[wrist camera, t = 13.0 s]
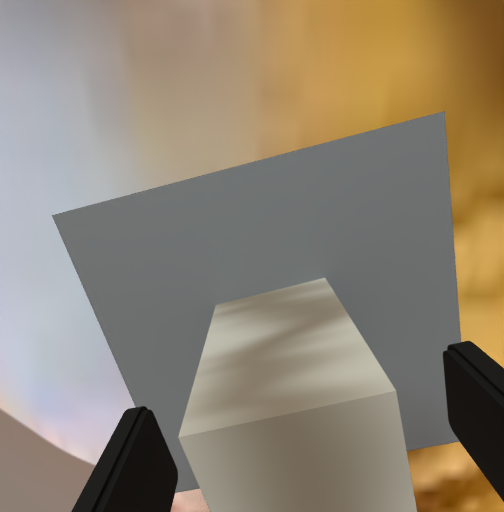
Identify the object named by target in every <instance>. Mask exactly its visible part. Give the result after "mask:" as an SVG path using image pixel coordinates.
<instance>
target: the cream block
mask: <svg viewBox="0 0 504 512" xmlns="http://www.w3.org/2000/svg"><path fill="white" fill-rule="evenodd" d="M178 438H179V441H180V443H181V445H182V447H183V450H184V452H185V454H186V457H187V459H188V461H189V464H190V466H191V468H192V471H193V473H194V475H195V478H196V480H197V482H198V485H199V487H200V489H201V491H202V494H203V496H204V498H205V501H206V503H207V505H208V508H209V510H210V512H417V509H416V503H415V497H414V491H413V486H412V480H411V474H410V468H409V462H408V457H407V451H406V445H405V439H404V433H403V428H402V422H401V416H400V410H399V404H398V399H397V393H396V390H395V388H394V386H393V385H392V383H391V382H390V380H389V379H388V377H387V375H386V374H385V372H384V371H383V369H382V367H381V366H380V364H379V363H378V361H377V359H376V358H375V356H374V355H373V353H372V351H371V350H370V348H369V347H368V345H367V343H366V342H365V340H364V339H363V337H362V336H361V334H360V332H359V331H358V329H357V328H356V326H355V324H354V323H353V321H352V320H351V318H350V316H349V315H348V313H347V312H346V310H345V308H344V307H343V305H342V304H341V302H340V301H339V299H338V297H337V296H336V294H335V293H334V291H333V289H332V288H331V286H330V285H329V283H328V281H327V280H326V278H322V279H318V280H314V281H310V282H306V283H302V284H298V285H294V286H290V287H286V288H282V289H278V290H274V291H270V292H266V293H262V294H258V295H254V296H250V297H246V298H242V299H238V300H234V301H230V302H226V303H222V304H218V305H216V306H215V310H214V313H213V317H212V320H211V324H210V327H209V331H208V334H207V338H206V341H205V345H204V348H203V352H202V355H201V359H200V362H199V366H198V369H197V373H196V376H195V380H194V384H193V387H192V391H191V394H190V398H189V401H188V405H187V408H186V412H185V415H184V419H183V422H182V426H181V429H180V433H179V436H178Z"/></svg>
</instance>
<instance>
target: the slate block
mask: <svg viewBox="0 0 504 512" xmlns="http://www.w3.org/2000/svg"><path fill="white" fill-rule="evenodd" d="M52 217H53V219H54V221H55V224H56V226H57V228H58V230H59V233H60V235H61V237H62V240H63V242H64V244H65V246H66V249H67V251H68V253H69V256H70V258H71V260H72V262H73V265H74V267H75V269H76V272H77V274H78V276H79V278H80V281H81V283H82V285H83V288H84V290H85V292H86V294H87V297H88V299H89V301H90V304H91V306H92V308H93V310H94V313H95V315H96V317H97V320H98V322H99V324H100V326H101V329H102V331H103V333H104V336H105V338H106V340H107V342H108V345H109V347H110V349H111V352H112V354H113V356H114V358H115V361H116V363H117V365H118V368H119V370H120V372H121V374H122V377H123V379H124V381H125V384H126V386H127V388H128V390H129V393H130V395H131V397H132V400H133V402H134V404H135V406H136V407H141V406H145V407H147V409H148V410H152V411H153V413H154V416H155V418H156V420H157V423H158V425H159V427H160V430H161V432H162V434H163V437H164V439H165V441H166V444H167V446H168V448H169V451H170V453H171V455H172V458H173V460H174V462H175V465H176V467H177V470H178V482H177V486H176V490H175V493H177V492H183V491H188V490H194V489H199V488H200V487H199V485H198V482H197V480H196V478H195V475H194V473H193V471H192V468H191V466H190V464H189V461H188V459H187V457H186V454H185V452H184V450H183V447H182V445H181V443H180V441H179V438H178V436H179V433H180V429H181V426H182V422H183V419H184V415H185V412H186V408H187V405H188V401H189V398H190V394H191V391H192V387H193V384H194V380H195V376H196V373H197V369H198V366H199V362H200V359H201V355H202V352H203V348H204V345H205V341H206V338H207V334H208V331H209V327H210V324H211V320H212V317H213V313H214V310H215V306H216V305H218V304H222V303H226V302H230V301H234V300H238V299H242V298H246V297H250V296H254V295H258V294H262V293H266V292H270V291H274V290H278V289H282V288H286V287H290V286H294V285H298V284H302V283H306V282H310V281H314V280H318V279H322V278H326V280H327V281H328V283H329V285H330V286H331V288H332V289H333V291H334V293H335V294H336V296H337V297H338V299H339V301H340V302H341V304H342V305H343V307H344V308H345V310H346V312H347V313H348V315H349V316H350V318H351V320H352V321H353V323H354V324H355V326H356V328H357V329H358V331H359V332H360V334H361V336H362V337H363V339H364V340H365V342H366V343H367V345H368V347H369V348H370V350H371V351H372V353H373V355H374V356H375V358H376V359H377V361H378V363H379V364H380V366H381V367H382V369H383V371H384V372H385V374H386V375H387V377H388V379H389V380H390V382H391V383H392V385H393V386H394V388H395V390H396V393H397V399H398V404H399V410H400V416H401V422H402V428H403V433H404V439H405V445H406V451H409V450H415V449H421V448H426V447H432V446H437V445H443V444H448V443H454V442H459V440H458V438H457V437H456V435H455V434H454V432H453V431H452V429H451V427H450V424H449V421H448V411H447V399H446V388H445V376H444V364H443V351H446V350H447V347H448V345H450V344H455V343H460V342H461V335H460V321H459V307H458V293H457V279H456V265H455V251H454V237H453V223H452V209H451V195H450V181H449V167H448V153H447V139H446V125H445V111H444V112H440V113H436V114H432V115H428V116H425V117H421V118H417V119H413V120H410V121H406V122H402V123H398V124H395V125H391V126H387V127H383V128H380V129H376V130H372V131H368V132H364V133H361V134H357V135H353V136H349V137H346V138H342V139H338V140H334V141H331V142H327V143H323V144H319V145H315V146H312V147H308V148H304V149H300V150H297V151H293V152H289V153H285V154H282V155H278V156H274V157H270V158H267V159H263V160H259V161H255V162H251V163H248V164H244V165H240V166H236V167H233V168H229V169H225V170H221V171H218V172H214V173H210V174H206V175H202V176H199V177H195V178H191V179H187V180H184V181H180V182H176V183H172V184H169V185H165V186H161V187H157V188H153V189H150V190H146V191H142V192H138V193H135V194H131V195H127V196H123V197H120V198H116V199H112V200H108V201H105V202H101V203H97V204H93V205H89V206H86V207H82V208H78V209H74V210H71V211H67V212H63V213H59V214H56V215H52Z"/></svg>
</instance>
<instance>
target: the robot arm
mask: <svg viewBox="0 0 504 512" xmlns="http://www.w3.org/2000/svg"><path fill="white" fill-rule="evenodd" d="M443 364H444V376H445V388H446V399H447V411H448V421H449V424H450V427H451V429H452V431H453V432H454V434H455V435H456V437H457V438H458V440H459V441H460V442H461V444H462V445H463V446H464V448H465V449H466V451H467V452H468V453H469V455H470V456H471V457H472V459H473V460H474V462H475V463H476V464H477V466H478V467H479V468H480V470H481V471H482V473H483V474H484V475H485V477H486V478H487V479H488V481H489V482H490V484H491V485H492V486H493V488H494V489H495V490H496V492H497V493H498V495H499V496H500V497H501V499H502V500H503V501H504V368H503V367H501V366H500V365H499V364H498V363H497V362H495V361H494V360H493V359H492V358H491V357H489V356H488V355H487V354H486V353H485V352H483V351H482V350H481V349H480V348H479V347H477V346H476V345H475V344H474V343H472V342H471V341H465V342H460V343H455V344H450V345H448V347H447V350H446V351H443ZM177 482H178V470H177V467H176V465H175V462H174V460H173V458H172V455H171V453H170V451H169V448H168V446H167V444H166V441H165V439H164V437H163V434H162V432H161V430H160V427H159V425H158V423H157V420H156V418H155V416H154V413H153V411H152V410H148V409H147V407H145V406H141V407H136V408H131V409H127V410H126V411H125V412H124V414H123V416H122V418H121V420H120V421H119V423H118V425H117V427H116V429H115V431H114V433H113V435H112V436H111V438H110V440H109V442H108V444H107V446H106V448H105V450H104V451H103V453H102V455H101V457H100V459H99V461H98V463H97V465H96V466H95V468H94V470H93V472H92V474H91V476H90V478H89V480H88V482H87V483H86V485H85V487H84V489H83V491H82V493H81V495H80V497H79V499H78V500H77V502H76V504H75V506H74V508H73V510H72V512H170V511H171V507H172V503H173V499H174V494H175V490H176V486H177Z"/></svg>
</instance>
